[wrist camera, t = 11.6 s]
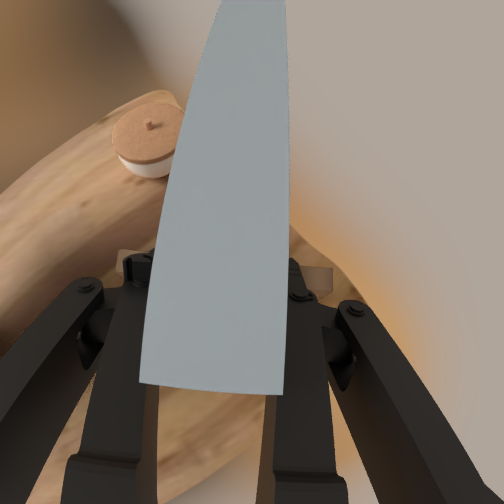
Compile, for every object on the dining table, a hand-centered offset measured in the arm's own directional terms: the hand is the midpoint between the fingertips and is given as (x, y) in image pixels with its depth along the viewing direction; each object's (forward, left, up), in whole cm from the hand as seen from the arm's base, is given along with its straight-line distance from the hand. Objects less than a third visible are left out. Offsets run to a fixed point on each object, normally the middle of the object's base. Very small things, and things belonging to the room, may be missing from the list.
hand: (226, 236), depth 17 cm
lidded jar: (-23, +7, -24) cm, 34 cm away
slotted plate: (-1, +1, -8) cm, 8 cm away
